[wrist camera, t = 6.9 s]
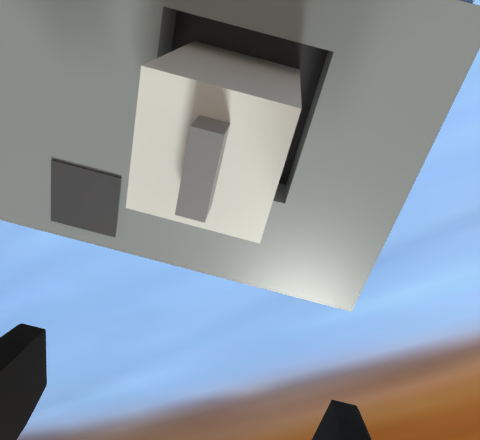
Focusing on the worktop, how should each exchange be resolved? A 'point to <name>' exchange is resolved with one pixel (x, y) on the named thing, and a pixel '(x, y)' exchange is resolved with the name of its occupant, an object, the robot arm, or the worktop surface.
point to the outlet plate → (301, 149)
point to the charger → (212, 138)
